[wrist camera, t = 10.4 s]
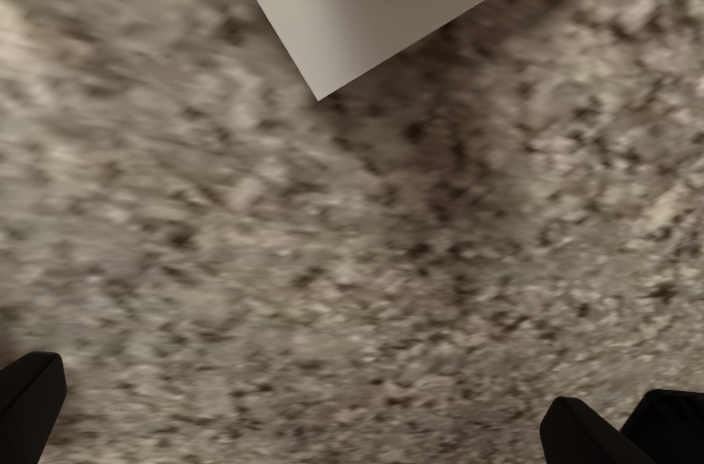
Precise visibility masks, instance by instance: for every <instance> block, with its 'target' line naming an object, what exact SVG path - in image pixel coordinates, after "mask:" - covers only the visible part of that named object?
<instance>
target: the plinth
mask: <svg viewBox="0 0 704 464" xmlns="http://www.w3.org/2000/svg"><path fill="white" fill-rule="evenodd" d="M483 1H484V0H257V2H258V3H259V5H260V7H261V8H262V10H263V11H264V13H265V15H266V16H267V18H268V20H269V21H270V23H271V25H272V26H273V28H274V30H275V31H276V33H277V34H278V36H279V38H280V39H281V41H282V43H283V44H284V46H285V48H286V49H287V51H288V52H289V54H290V56H291V57H292V59H293V61H294V62H295V64H296V66H297V67H298V69H299V71H300V72H301V74H302V75H303V77H304V79H305V80H306V82H307V84H308V85H309V87H310V89H311V90H312V92H313V93H314V95H315V97H316V98H317V100H318V101H319V100H321V99H322V98H324V97H326V96H327V95H329V94H331V93H332V92H334V91H336V90H337V89H339V88H341V87H342V86H344V85H346V84H347V83H349V82H350V81H352V80H354V79H355V78H357V77H359V76H360V75H362V74H364V73H365V72H367V71H369V70H370V69H372V68H374V67H375V66H377V65H379V64H380V63H382V62H384V61H385V60H387V59H388V58H390V57H392V56H393V55H395V54H397V53H398V52H400V51H402V50H403V49H405V48H407V47H408V46H410V45H412V44H413V43H415V42H417V41H418V40H420V39H421V38H423V37H425V36H426V35H428V34H430V33H431V32H433V31H435V30H436V29H438V28H440V27H441V26H443V25H445V24H446V23H448V22H450V21H451V20H453V19H455V18H456V17H458V16H459V15H461V14H463V13H464V12H466V11H468V10H469V9H471V8H473V7H474V6H476V5H478V4H479V3H481V2H483Z"/></svg>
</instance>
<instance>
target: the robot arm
mask: <svg viewBox="0 0 704 464" xmlns="http://www.w3.org/2000/svg"><path fill="white" fill-rule="evenodd" d="M66 392H67V384H66V379H65V373H64V368H63V362H62V358H61V356H60V355H59V354H58V353H55V352H43V351H32V352H30V353H28V354H26V355H24V356H22V357H21V358H19V359H18V360H16V361H14V362H13V363H11V364H9V365H8V366H6V367H4V368H3V369H1V370H0V464H38V462H39V459H40V457H41V454H42V452H43V450H44V447H45V445H46V443H47V440H48V438H49V436H50V433H51V431H52V429H53V426H54V424H55V422H56V419H57V417H58V414H59V412H60V410H61V407H62V405H63V403H64V400H65V397H66ZM540 438H541V442H542V446H543V450H544V454H545V458H546V462H547V464H704V393H695V392H684V391H673V390H662V389H656V390H652V391H651V392H649V393H648V394H647V396H646V397H645V399H644V400H643V401H642V403H641V404H640V406H639V407H638V409H637V410H636V411H635V413H634V414H633V416H632V417H631V419H630V420H629V421H628V423H627V424H626V426H625V427H624V429H623V430H622V431H621V433H620V432H619V431H617V430H616V429H615V428H614V427H613V426H612V425H610V424H609V423H608V422H607V421H606V420H604V419H603V418H602V417H601V416H600V415H598V414H597V413H596V412H595V411H594V410H593V409H591V408H590V407H589V406H588V405H587V404H585V403H584V402H583V401H582V400H580V399H578V398H574V397H563V396H559V397H557V398H555V399H554V400H553V402H552V404H551V406H550V407H549V409H548V411H547V413H546V415H545V416H544V418H543V420H542V422H541V424H540Z"/></svg>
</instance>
